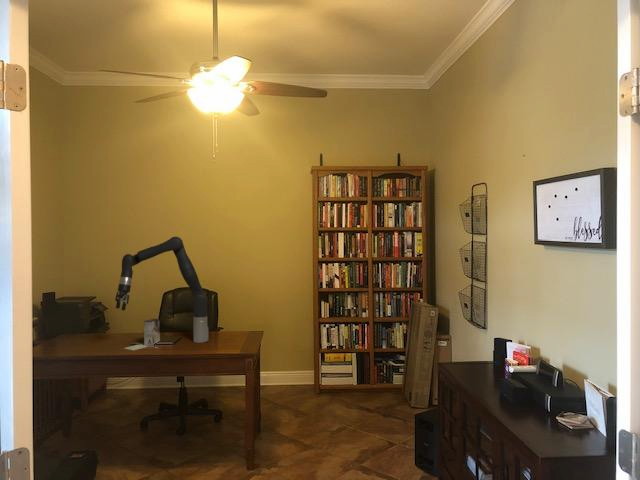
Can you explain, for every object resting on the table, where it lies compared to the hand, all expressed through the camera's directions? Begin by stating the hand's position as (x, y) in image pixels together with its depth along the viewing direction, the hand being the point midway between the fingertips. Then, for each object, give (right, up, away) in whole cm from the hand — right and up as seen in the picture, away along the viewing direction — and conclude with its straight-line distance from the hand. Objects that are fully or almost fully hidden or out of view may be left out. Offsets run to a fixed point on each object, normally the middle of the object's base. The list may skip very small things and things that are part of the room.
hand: (120, 309), depth 297 cm
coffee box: (+16, -25, +13) cm, 32 cm away
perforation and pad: (+13, -25, 0) cm, 28 cm away
